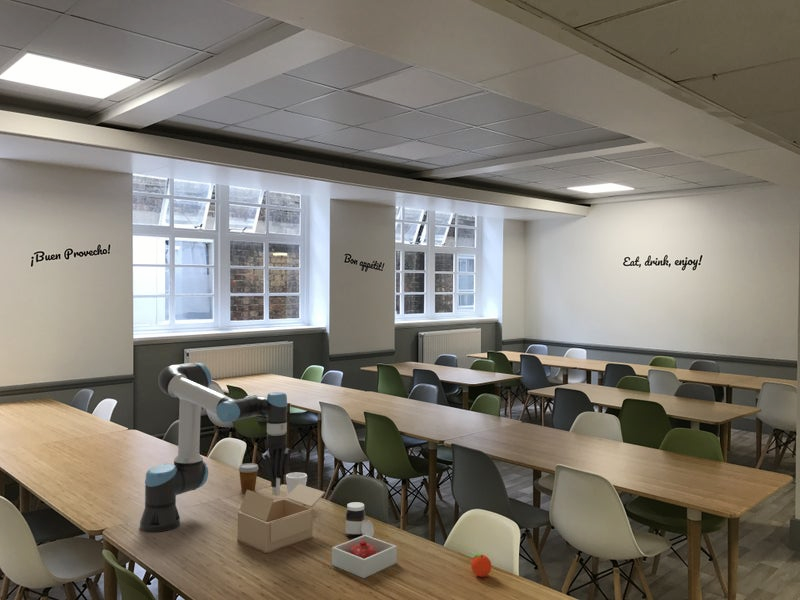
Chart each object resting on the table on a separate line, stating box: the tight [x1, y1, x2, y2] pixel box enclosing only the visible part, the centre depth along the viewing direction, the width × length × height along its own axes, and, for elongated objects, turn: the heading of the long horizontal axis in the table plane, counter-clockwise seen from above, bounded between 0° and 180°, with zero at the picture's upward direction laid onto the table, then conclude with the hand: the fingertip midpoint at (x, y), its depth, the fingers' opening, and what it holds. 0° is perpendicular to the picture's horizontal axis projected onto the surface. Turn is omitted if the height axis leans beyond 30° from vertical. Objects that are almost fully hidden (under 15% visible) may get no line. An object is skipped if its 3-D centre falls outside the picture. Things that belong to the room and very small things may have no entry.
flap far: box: [285, 484, 326, 508], centre depth 252 cm, size 8×16×1 cm, turn 50°
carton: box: [236, 498, 314, 554], centre depth 241 cm, size 22×19×11 cm
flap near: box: [238, 490, 275, 521], centre depth 234 cm, size 8×16×1 cm
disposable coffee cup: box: [238, 462, 259, 493], centre depth 301 cm, size 10×10×12 cm
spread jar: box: [345, 501, 375, 538], centre depth 246 cm, size 12×11×12 cm
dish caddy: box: [331, 535, 398, 579], centre depth 220 cm, size 17×16×6 cm
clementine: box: [468, 553, 492, 578], centre depth 212 cm, size 8×7×7 cm
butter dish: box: [349, 540, 377, 559], centre depth 219 cm, size 12×12×8 cm
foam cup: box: [285, 471, 308, 506], centre depth 282 cm, size 10×9×13 cm
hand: (276, 494), depth 240 cm, fingers closed
